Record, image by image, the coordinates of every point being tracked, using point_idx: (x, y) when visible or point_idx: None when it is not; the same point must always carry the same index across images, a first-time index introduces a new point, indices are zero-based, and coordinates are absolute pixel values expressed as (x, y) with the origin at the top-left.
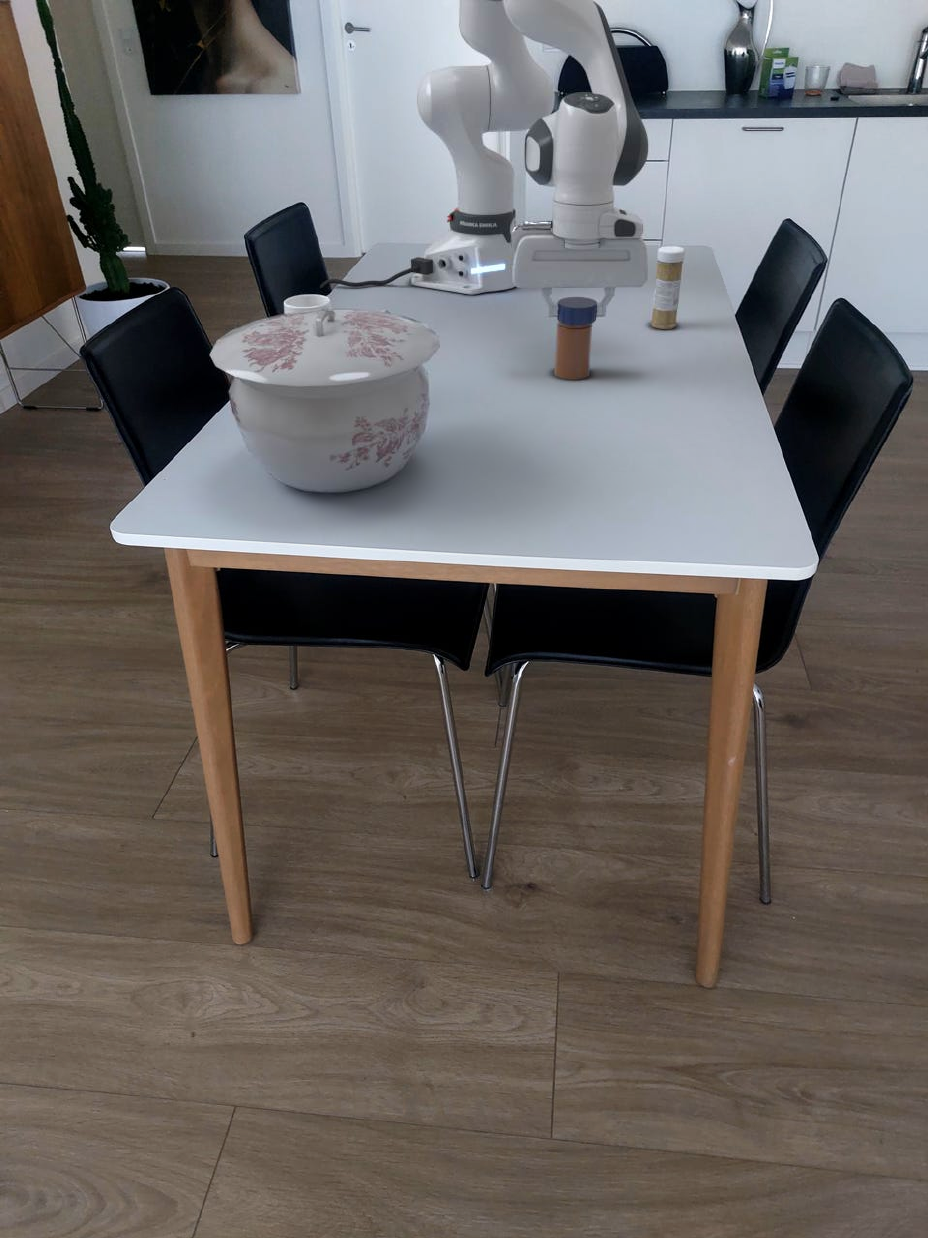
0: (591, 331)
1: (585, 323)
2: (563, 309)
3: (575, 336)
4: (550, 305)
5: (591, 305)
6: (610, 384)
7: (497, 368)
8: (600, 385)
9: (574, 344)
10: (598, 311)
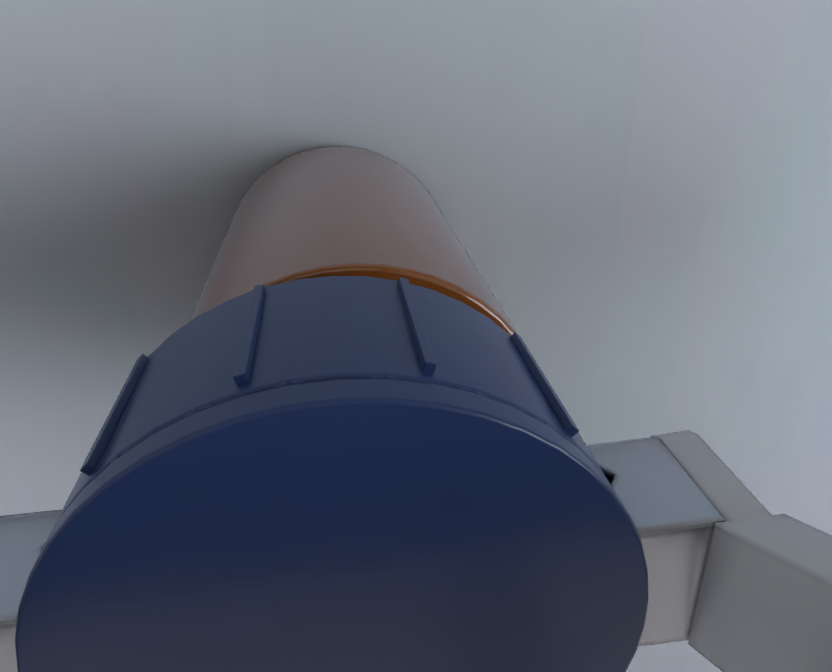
0: None
1: (213, 309)
2: (570, 437)
3: (338, 236)
4: (757, 521)
5: (89, 558)
6: (49, 71)
7: (757, 307)
8: (122, 45)
9: (341, 211)
10: (22, 548)
